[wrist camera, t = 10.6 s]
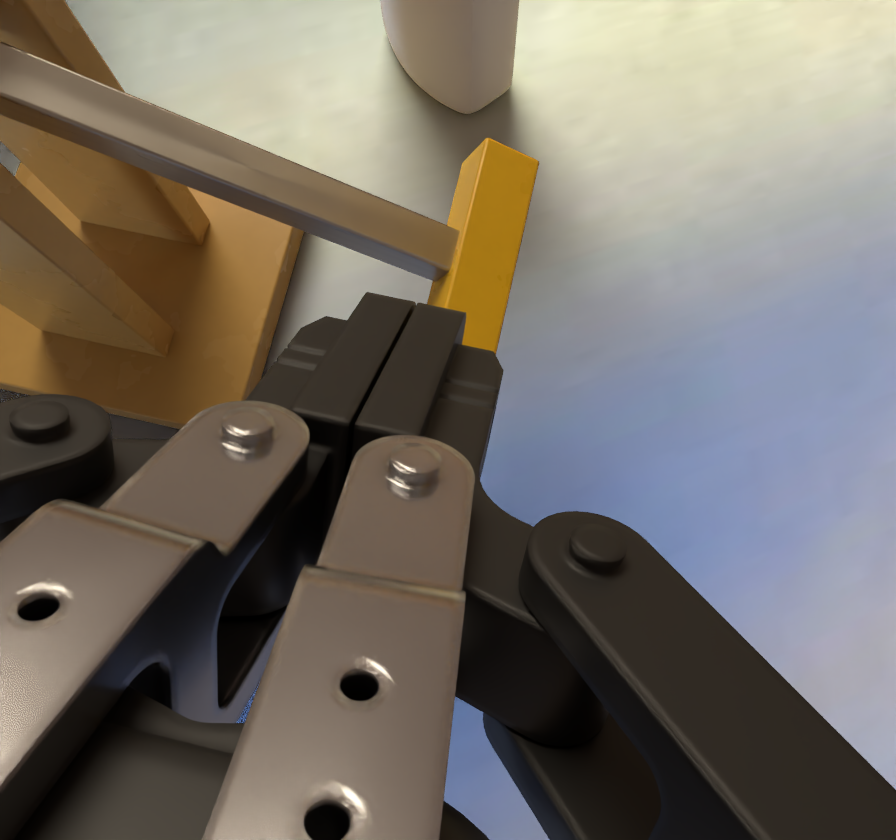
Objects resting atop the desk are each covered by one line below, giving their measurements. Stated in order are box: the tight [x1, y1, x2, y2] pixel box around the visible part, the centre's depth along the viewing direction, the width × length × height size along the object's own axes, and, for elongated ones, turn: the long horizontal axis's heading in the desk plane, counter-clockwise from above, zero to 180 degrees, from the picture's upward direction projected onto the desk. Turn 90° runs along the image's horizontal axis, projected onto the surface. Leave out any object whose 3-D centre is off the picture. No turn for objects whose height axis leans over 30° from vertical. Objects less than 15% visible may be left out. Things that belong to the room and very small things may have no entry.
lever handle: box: [0, 41, 539, 355], centre depth 18 cm, size 15×6×2 cm, turn 77°
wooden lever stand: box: [0, 0, 304, 429], centre depth 21 cm, size 10×9×15 cm
